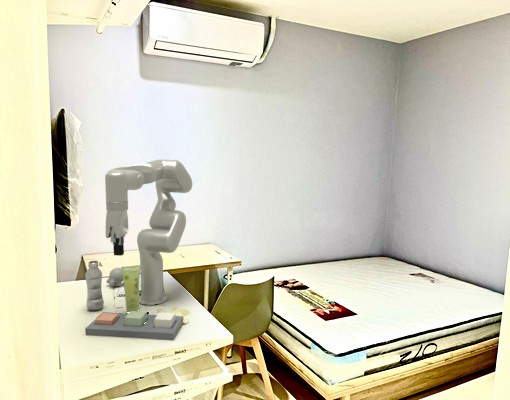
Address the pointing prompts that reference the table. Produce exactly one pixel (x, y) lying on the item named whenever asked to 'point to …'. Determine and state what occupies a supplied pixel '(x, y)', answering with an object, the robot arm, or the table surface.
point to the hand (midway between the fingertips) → (118, 254)
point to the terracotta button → (107, 319)
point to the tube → (131, 286)
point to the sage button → (136, 318)
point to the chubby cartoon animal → (115, 277)
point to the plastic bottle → (94, 286)
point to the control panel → (135, 329)
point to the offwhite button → (164, 320)
